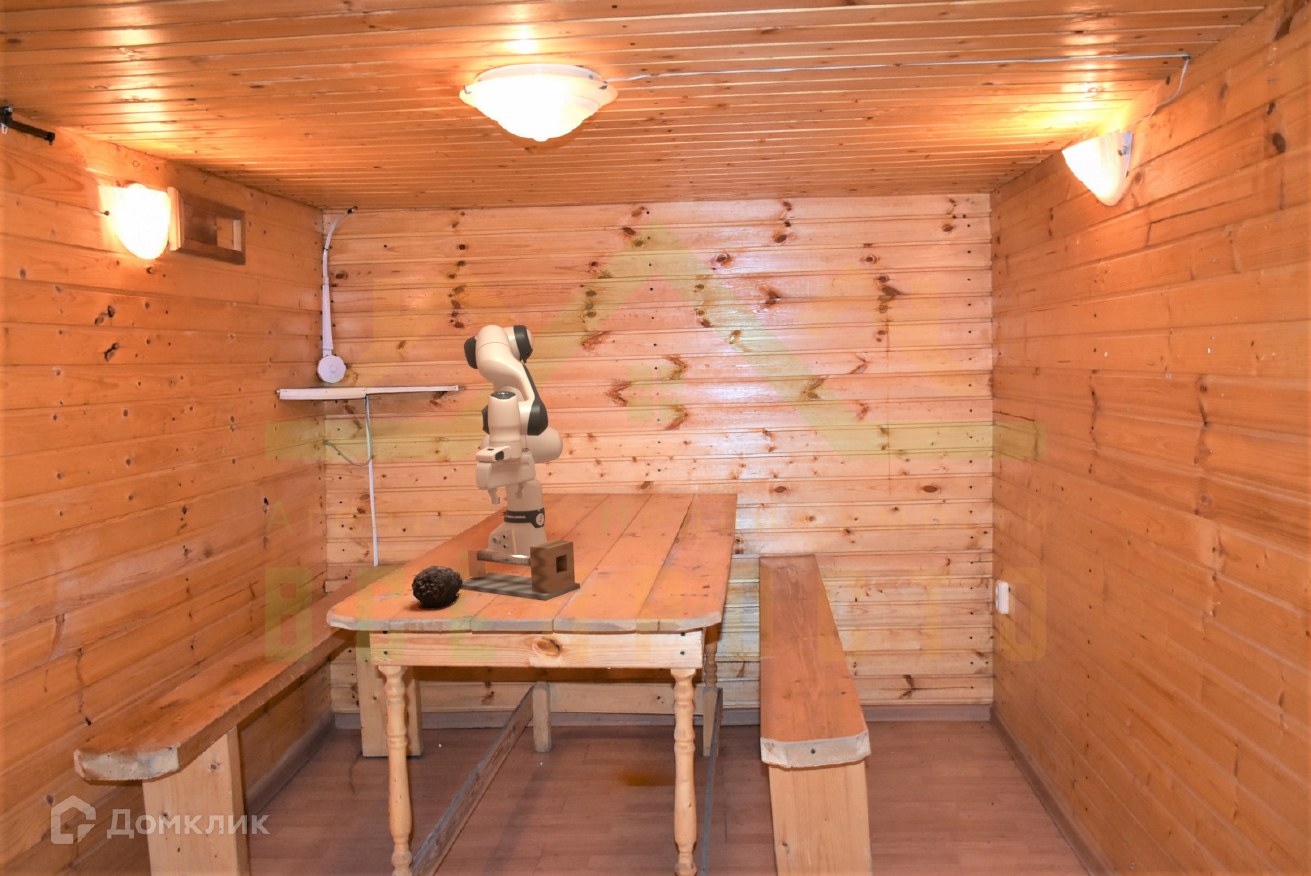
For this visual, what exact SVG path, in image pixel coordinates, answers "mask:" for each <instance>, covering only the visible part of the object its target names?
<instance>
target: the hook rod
mask: <svg viewBox="0 0 1311 876" xmlns="http://www.w3.org/2000/svg"><path fill="white" fill-rule="evenodd" d="M467 559H468V562H467V563H468V577H470V578H472V577H481V576H484V575H486V573H487V568H486V563H487V562H490V563H498V564H499V563H500V564H506V565H514V566H515V565H516V566H522V567H523V566H524V567H531V560H530V555H522V554H512V553H502V552H493V551H485V548H480V547H475V548H472V549H468V550H467Z"/></svg>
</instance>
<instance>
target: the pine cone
mask: <svg viewBox="0 0 1311 876" xmlns="http://www.w3.org/2000/svg"><path fill="white" fill-rule="evenodd" d="M463 580H464V579H462V577H461V573H459V572H458V571H455V570H453V569H452V568H451V567H446V566H441V565H431V566H429V567H427V568H424V569H422V570H420V572H419V573H418V574H417V575H415V576H414V577H413V580H412V583H411V588H412V595H413V597H415V599H416V600H417V601H418V602H419V603H420V604H419V605H418V606H417V607H418V608H421V609H425V610H440V609H445V608H448V607H450V606H452V605H453V604H454V603H456V602H457V600H458V599H459V598H460V597H459V595H458V594H459V592H460V590H461V589H460V588H461V586H462V583H463ZM456 595H458V596H456ZM453 602H454V603H453Z"/></svg>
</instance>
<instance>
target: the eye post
mask: <svg viewBox="0 0 1311 876" xmlns="http://www.w3.org/2000/svg"><path fill="white" fill-rule="evenodd" d="M547 541H548V542H545V543H541V544H538V545H534V546H531V547H530V560H531V566H530V572H531V573H530V575H531V577H529V576H522V575H514V574H513V575H512V574H506V573H505V574H504V573H495V572H486V575H484V576H481V577H470V578H466V579H462V580H463V583H462V586H461V588H460V590H466V589H468V591H473V590H474V592H481V593H489V594H497V595H503V596H511V597H519V598H525V599H532V600H540V601H547V600H550V599H553V598H557V597H559V596H562V595H565V594H567V593H570V592H572V591H575V590H579V589H580V588H581V583H579V582H576V576H575V575H576V574H575V556H574V555H575V554H574V553H575V552H574V551H575V550H574V540H573V541H572V540H564V539H552V540H547Z"/></svg>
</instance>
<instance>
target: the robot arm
mask: <svg viewBox="0 0 1311 876" xmlns="http://www.w3.org/2000/svg"><path fill="white" fill-rule="evenodd" d="M534 344H535V343H534V338H533V334H532V332H531V331H530V330H529V329H528V327H527V326H526V325H523V324H513V326H507V327H501V326H499V325H496V324H488V325H485V326H483V327H482V328H481V329H480V330H479V331H478V332H477V335H476V336H475V335H473V336H471V337H469V338H467V339H466V340H465V342H464V344H463V357H464V359H465V361H466V363H467V364H468V365H469V367H470V368H472V369H473V370H478V373H479V374H480V376H481V377H482V378H483V379H484V380H486V381H488V382H490V383H492V388H493V389H492V390H493V392H492V393H490V394H489V396H488V404H487V405H485V406H484V407H483V408H482V410H481V411H480V413H481V414H482V429H481V430H482V431H484V432H485V436H484V437H482V440H481V442H480V451H477V452H476V453H475V460H476V461H477V463H476V466H475V482H476V483H475V484H476V487H477V488H478V489H479V490H483V491H484V490H486V491H487V493H488V494H489V496H490V498H491V504H492V505H496V506H497V505H499V504H501V497H498V495H497V493H498V488H502V487H504V488H505V494H506V506H507V507H506V510H505V511H501V512H500V513H501V515H500V516H504V517H503V521H502V522H501V523H500V524H499V525H498V526H497V527H496V528H495V529H493V530H492V531H491V532H490V533H489V536H488V540H487V547H486V548H484V549H485V551H493V552H502V553H512V554H522V555H530V547H531V546H534V545H538V544H541V543H545V542H548V541H549V540H548V537H547V531H546V526H545V523H546V522H545V521H546V510H545V507H544V499H543V498H544V495H543V485H542V483H541V481H540V480H539V479H538V478H536V475H537V473H536V466H535V464H544V463H547V462H548V463H549V462H551V461H555V460H558V459H559V457H560V456H561V454H562V453H563V449H564V441H563V436H562V435H561V434H560V432H559V431H558V430H556V429H554V428H552V427H550V426H549V422H550V421H549V413H548V410H547V407H546V405H545V404H544V402H543V400H542V398H541V396H540V394H539V391H538V389H537V387H536V384H535V381H534V380H533V376H532V375H531V373H530V370H529V368H528V367H527V365H526V363H527V362H528V361H527V360H528V359H529V358H530V357H531V355H532V353H533V352H534ZM522 361H523V362H522Z"/></svg>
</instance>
